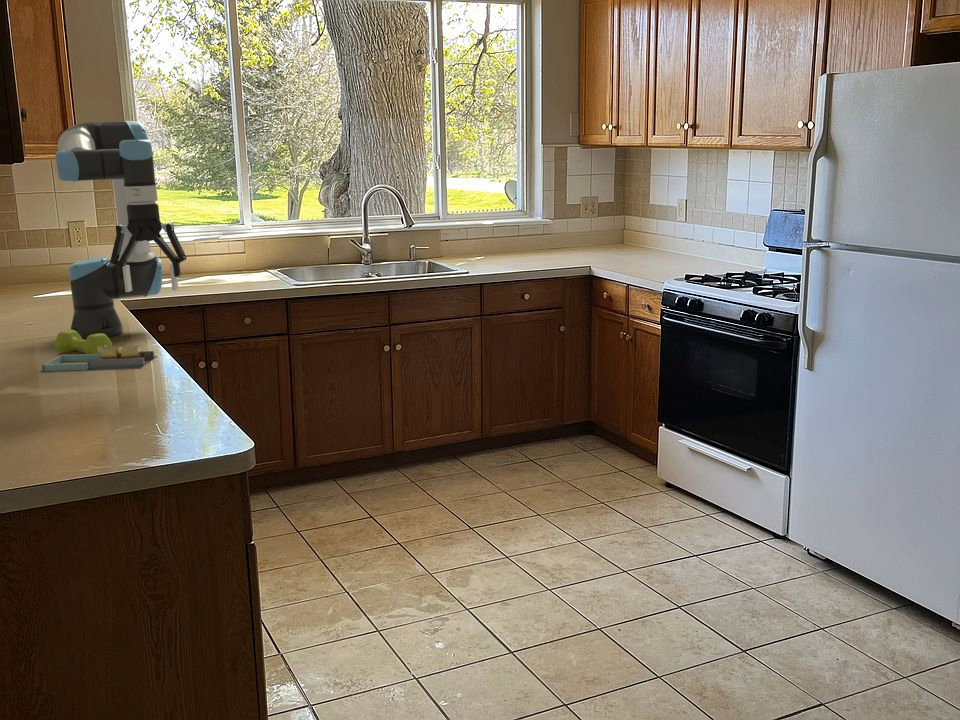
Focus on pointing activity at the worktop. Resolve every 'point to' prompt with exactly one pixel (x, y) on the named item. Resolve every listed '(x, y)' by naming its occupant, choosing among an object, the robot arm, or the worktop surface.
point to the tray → (55, 365)
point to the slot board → (121, 362)
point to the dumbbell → (81, 342)
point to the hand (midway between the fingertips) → (152, 290)
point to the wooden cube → (130, 352)
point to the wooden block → (111, 353)
